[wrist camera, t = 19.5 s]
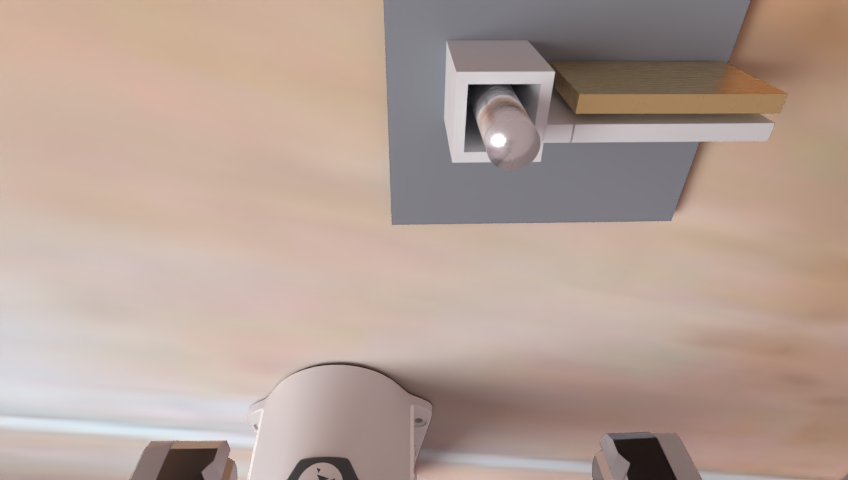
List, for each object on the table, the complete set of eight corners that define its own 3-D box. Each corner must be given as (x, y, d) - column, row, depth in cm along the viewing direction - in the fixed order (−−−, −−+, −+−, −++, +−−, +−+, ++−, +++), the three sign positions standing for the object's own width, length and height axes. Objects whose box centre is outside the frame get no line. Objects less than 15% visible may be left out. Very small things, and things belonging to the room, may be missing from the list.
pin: (506, 91, 30) (544, 161, 22) (469, 103, 31) (493, 176, 22) (497, 53, 29) (535, 113, 21) (459, 66, 29) (481, 130, 21)
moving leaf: (717, 78, 30) (779, 113, 25) (546, 78, 29) (575, 113, 25) (723, 61, 29) (788, 94, 24) (549, 61, 29) (579, 94, 24)
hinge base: (664, 212, 37) (715, 274, 31) (392, 215, 37) (390, 279, 30) (791, -154, 25) (919, -172, 18) (378, -160, 24) (370, -180, 18)
